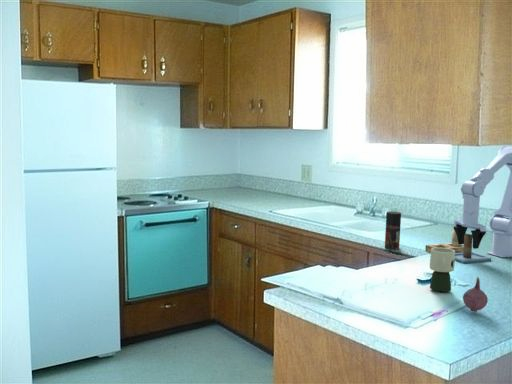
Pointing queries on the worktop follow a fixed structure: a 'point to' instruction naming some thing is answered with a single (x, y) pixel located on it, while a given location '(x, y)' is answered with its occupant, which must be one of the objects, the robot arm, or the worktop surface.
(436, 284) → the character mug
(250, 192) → the worktop surface
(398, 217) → the deodorant
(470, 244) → the walnut dowel
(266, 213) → the worktop surface
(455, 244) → the birch dowel
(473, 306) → the vegetable
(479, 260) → the tray
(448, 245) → the holder block
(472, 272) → the worktop surface
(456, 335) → the worktop surface
